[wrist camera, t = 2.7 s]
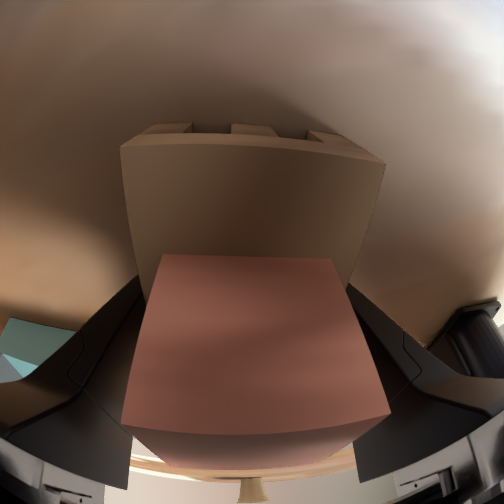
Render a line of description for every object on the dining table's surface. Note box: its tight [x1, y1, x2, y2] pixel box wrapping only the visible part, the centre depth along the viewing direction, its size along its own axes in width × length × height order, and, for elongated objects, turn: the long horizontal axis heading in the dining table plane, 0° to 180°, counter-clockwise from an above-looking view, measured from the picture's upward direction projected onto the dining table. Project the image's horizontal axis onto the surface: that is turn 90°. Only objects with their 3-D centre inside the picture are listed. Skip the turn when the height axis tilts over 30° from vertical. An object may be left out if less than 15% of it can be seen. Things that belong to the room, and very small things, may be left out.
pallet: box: [120, 123, 386, 306], centre depth 9 cm, size 6×10×3 cm, turn 175°
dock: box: [0, 317, 135, 438], centre depth 14 cm, size 14×12×6 cm
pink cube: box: [120, 254, 391, 470], centre depth 6 cm, size 4×4×4 cm
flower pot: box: [237, 477, 270, 503], centre depth 55 cm, size 9×9×9 cm
